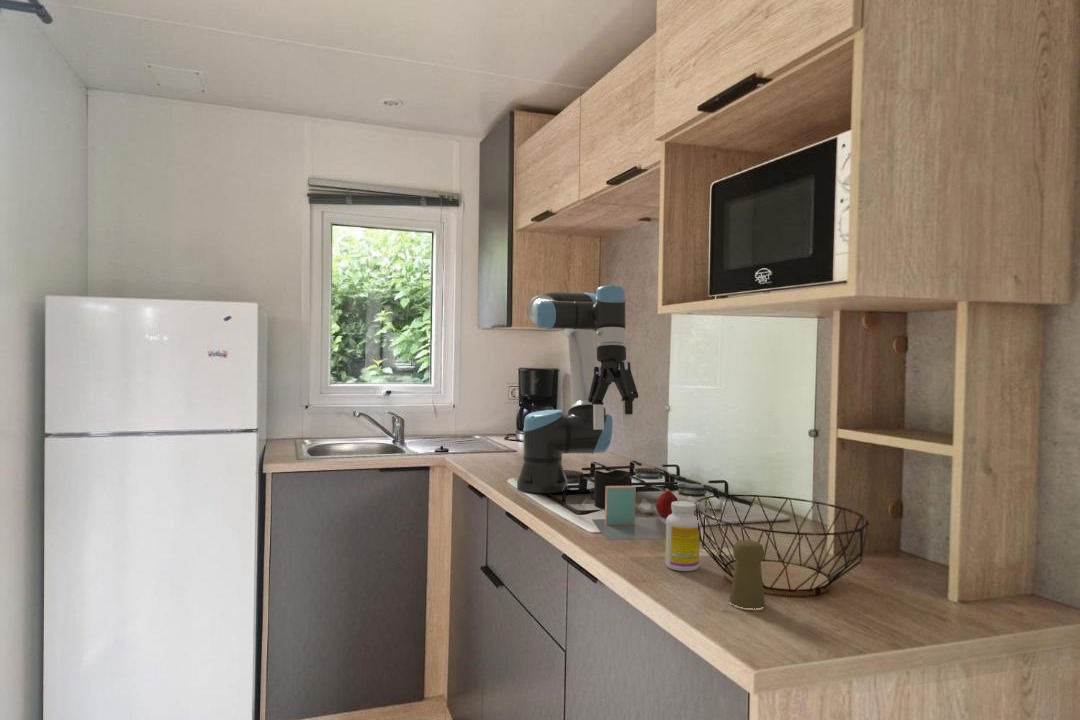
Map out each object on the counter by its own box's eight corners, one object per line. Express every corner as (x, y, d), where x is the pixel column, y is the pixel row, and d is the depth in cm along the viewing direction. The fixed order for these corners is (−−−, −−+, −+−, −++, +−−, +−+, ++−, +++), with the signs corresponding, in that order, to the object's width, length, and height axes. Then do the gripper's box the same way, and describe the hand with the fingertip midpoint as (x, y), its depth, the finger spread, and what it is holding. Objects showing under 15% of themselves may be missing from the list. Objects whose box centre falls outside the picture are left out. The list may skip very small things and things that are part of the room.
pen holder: (621, 516, 179) (622, 477, 179) (587, 511, 184) (588, 473, 183) (633, 508, 188) (634, 471, 187) (601, 504, 192) (602, 468, 192)
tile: (604, 523, 168) (605, 486, 168) (633, 522, 169) (634, 485, 169) (606, 525, 166) (607, 487, 166) (635, 524, 167) (635, 487, 167)
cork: (739, 612, 118) (740, 547, 118) (722, 598, 124) (724, 537, 123) (772, 610, 119) (773, 546, 119) (754, 596, 125) (756, 536, 125)
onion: (677, 517, 179) (678, 486, 179) (680, 523, 173) (681, 491, 173) (654, 516, 180) (655, 485, 179) (656, 522, 174) (657, 490, 174)
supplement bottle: (705, 571, 138) (706, 506, 138) (675, 573, 136) (676, 508, 136) (688, 560, 145) (689, 498, 144) (659, 563, 143) (660, 500, 142)
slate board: (591, 524, 171) (591, 519, 171) (658, 523, 174) (658, 518, 173) (606, 544, 155) (606, 539, 155) (680, 543, 157) (681, 538, 157)
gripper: (575, 351, 189) (575, 429, 187) (625, 338, 167) (626, 427, 164) (599, 352, 192) (600, 430, 190) (651, 340, 170) (653, 427, 168)
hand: (612, 429), depth 177 cm, fingers open, 13 cm apart
